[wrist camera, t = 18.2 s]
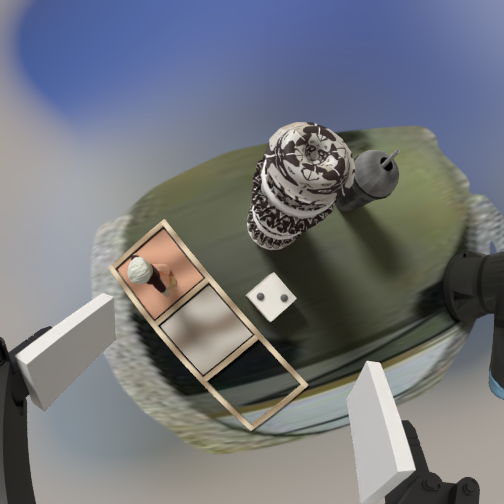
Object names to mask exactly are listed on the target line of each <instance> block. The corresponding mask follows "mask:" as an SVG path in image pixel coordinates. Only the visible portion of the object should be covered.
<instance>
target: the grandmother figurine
mask: <svg viewBox="0 0 504 504" xmlns="http://www.w3.org/2000/svg"><path fill="white" fill-rule="evenodd" d="M127 274H128V278H129V279H130V281H131V282H132V283H137V284H144V283H147V284H149V285H153V286H154V287H155V288H156V289H157V290H158V291H159V292H160V293H162V294H163V295H164V296H166V297H168V296H169V295H170V291H169V289H171V288H174V287H175V286H176V284H177V280H176V278H175V277H174V276H169V274H170V268H169V267H168V266H167V265H166V264H150V263H149V262H148V261H145V259H144V258H142V257H139V255H138V254H134V255H133V256H131V262H130V264H129V265H128V272H127Z"/></svg>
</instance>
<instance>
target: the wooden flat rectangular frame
mask: <svg viewBox="0 0 504 504" xmlns="http://www.w3.org/2000/svg"><path fill="white" fill-rule="evenodd" d="M163 227H165V228H166V230H167V231H168V232H169V233H170V235H171V236H172V237H173V238H174V240H175V241H176V242H177V244H178V245H179V246H180V247H181V249H182V250H183V251H184V252H185V253H186V255H187V256H188V257H189V258H190V260H191V261H192V262H193V263H194V265H195V266H196V267H197V268H198V269H199V271H200V272H201V273H202V274H203V275H204V277H205V279H204V280H203V281H202V282H200V283H199V284H198V285H197V286H196V287H195V288H193V289H192V290H191V291H190V292H189V293H188V294H186V295H185V296H184V297H183V298H182V299H180V300H179V301H178V302H177V303H176V304H175V305H173V306H172V307H171V308H170V309H169V310H168V311H166V312H165V313H164V314H163V315H162V316H161V317H159V318H158V319H157V320H156V321H154V320H153V318H152V317H151V316H150V315H149V313H148V312H147V311H146V309H145V308H144V307H143V306H142V304H141V303H140V302H139V300H138V299H137V298H136V296H135V295H134V294H133V292H132V291H131V290H130V288H129V287H128V285H127V284H126V283H125V281H124V280H123V278H124V279H125V280H126V282H127V283H128V284H129V286H130V287H131V289H132V290H133V291H134V293H135V294H136V295H137V297H138V298H139V299H140V301H141V302H142V303H143V305H144V306H145V307H146V308H147V310H148V311H149V312H150V314H151V315H152V316H153V317H154V319H156V318H157V317H158V316H159V315H161V314H162V313H163V312H164V311H165V310H166V309H168V308H169V307H170V306H171V305H172V304H173V303H175V302H176V301H177V300H178V299H179V298H180V297H182V296H183V295H184V294H185V293H186V292H188V291H189V290H190V289H191V288H192V287H193V286H195V285H196V284H197V283H198V282H199V281H200V280H202V279H203V277H202V276H201V275H200V273H199V272H198V271H197V270H196V268H195V267H194V266H193V265H192V264H191V262H190V261H189V260H188V259H187V257H186V256H185V255H184V254H183V252H182V251H181V250H180V249H179V248H178V246H177V245H176V244H175V242H174V241H173V240H172V239H171V237H170V236H169V235H168V234H167V232H166V231H165V230H164V229H163V230H161V229H162V228H163ZM159 230H161V231H160V232H159V233H158V234H157V235H156V236H154V235H155V234H156V233H157V232H158V231H159ZM152 236H154V237H153V238H152V239H151V240H150V241H149V242H148V243H146V242H147V241H148V240H149V239H150V238H151V237H152ZM144 243H146V244H145V245H144V246H143V247H142V248H141V249H140V250H138V249H139V248H140V247H141V246H142V245H143V244H144ZM136 250H138V251H137V252H136V253H135V254H138V255H139V257H142V258H144V259H145V261H148V262H149V263H150V264H166V265H167V266H168V267H169V268H170V274H169V276H174V277H175V278H176V280H177V284H176V286H175V287H174V288H171V289H169V291H170V295H169V296H168V297H166V296H164V295H163V294H162V293H160V292H159V291H158V290H157V289H156V288H155V287H154V286H153V285H149V284H147V283H144V284H137V283H132V282H131V281H130V279H129V278H128V274H127V272H128V265H129V264H130V262H131V258H129V257H130V256H131V255H132V254H133V253H134V252H135V251H136ZM127 258H129V259H128V260H127V261H126V262H125V263H124V264H123V265H122V266H121V267H120V268H118V267H119V266H120V265H121V264H122V263H123V262H124V261H125V260H126V259H127ZM117 268H118V270H119V272H120V273H121V275H122V276H123V278H122V277H121V276H120V274H119V273H118V271H117V270H116V269H117ZM109 269H110V271H111V272H112V274H113V275H114V277H115V278H116V279H117V281H118V282H119V284H120V285H121V286H122V288H123V289H124V291H125V292H126V293H127V295H128V296H129V297H130V299H131V300H132V302H133V303H134V304H135V306H136V307H137V308H138V309H139V311H140V312H141V313H142V315H143V316H144V317H145V319H146V320H147V321H148V322H149V324H150V325H151V326H152V327H153V329H154V330H155V331H156V332H157V333H158V335H159V336H160V337H161V338H162V339H163V341H164V342H165V343H166V344H167V345H168V347H169V348H170V349H171V350H172V351H173V352H174V354H175V355H176V356H177V357H178V358H179V359H180V360H181V362H182V363H183V364H184V365H185V366H186V367H187V368H188V369H189V370H190V371H191V373H192V374H193V375H194V376H195V377H196V378H197V379H198V380H199V381H200V382H201V383H202V384H203V385H204V386H205V387H206V388H207V389H208V390H209V391H210V392H211V393H212V394H213V395H214V396H215V397H216V398H217V399H218V400H219V401H220V402H221V403H222V404H223V405H224V406H225V407H226V408H227V409H228V410H229V411H230V412H231V413H232V414H233V415H234V416H235V417H236V418H237V419H238V420H239V421H241V422H242V423H243V424H244V425H245V426H246V427H247V428H248V429H249V430H251V431H252V430H253V429H254V428H256V427H257V426H258V425H260V424H261V423H262V422H264V421H265V420H266V419H268V418H269V417H270V416H272V415H273V414H274V413H276V412H277V411H278V410H279V409H281V408H282V407H283V406H284V405H286V404H287V403H288V402H289V401H291V400H292V399H293V398H294V397H295V396H297V395H298V394H299V393H300V392H301V391H303V390H304V389H305V388H306V387H307V386H308V384H307V383H306V382H305V381H304V380H303V379H302V378H301V377H300V376H299V375H298V373H297V372H296V371H295V370H294V369H293V368H292V367H291V366H290V365H289V364H288V363H287V362H286V361H285V360H284V359H283V357H282V356H281V355H280V354H279V353H278V352H277V351H276V350H275V349H274V348H273V347H272V345H271V344H270V343H269V342H268V341H267V340H266V339H265V338H264V337H263V336H262V334H261V333H260V332H259V331H258V330H257V329H256V328H255V327H254V325H253V324H252V323H251V322H250V321H249V320H248V319H247V318H246V316H245V315H244V314H243V313H242V312H241V311H240V310H239V308H238V307H237V306H236V305H235V304H234V303H233V302H232V300H231V299H230V298H229V297H228V296H227V295H226V293H225V292H224V291H223V290H222V289H221V288H220V286H219V285H218V284H217V283H216V282H215V280H214V279H213V278H212V277H211V276H210V274H209V273H208V272H207V271H206V270H205V269H204V267H203V266H202V265H201V264H200V262H199V261H198V260H197V259H196V258H195V256H194V255H193V254H192V253H191V252H190V250H189V249H188V248H187V247H186V245H185V244H184V243H183V242H182V240H181V239H180V238H179V237H178V235H177V234H176V233H175V232H174V230H173V229H172V228H171V227H170V225H169V224H168V223H167V222H166V220H165V219H164V220H162V221H161V222H160V223H159V224H158V225H156V226H155V227H154V228H153V229H152V230H151V231H149V232H148V233H147V234H146V235H145V236H144V237H143V238H141V239H140V240H139V241H138V242H137V243H136V244H135V245H133V246H132V247H131V248H130V249H129V250H128V251H127V252H126V253H125V254H123V255H122V256H121V257H120V258H119V259H118V260H117V261H116V262H115V263H114V264H113V265H111V266H110V267H109ZM208 283H210V284H211V285H212V286H213V287H214V288H215V290H216V291H217V292H218V293H219V294H220V296H221V297H222V298H223V299H224V300H225V301H226V303H227V304H228V305H229V306H230V307H231V308H232V309H233V311H234V312H235V313H236V314H237V315H238V316H239V317H240V319H241V320H242V321H243V322H244V323H245V324H246V325H247V327H248V328H249V329H250V330H251V331H252V332H253V333H254V334H255V335H254V336H253V337H252V338H251V339H249V340H248V341H247V342H246V343H245V344H243V345H242V346H241V347H240V348H239V349H237V350H236V351H235V352H234V353H233V354H231V355H230V356H229V357H228V358H226V359H225V360H224V361H223V362H221V363H220V364H219V365H218V366H216V367H215V368H214V369H213V370H211V371H210V372H209V373H208V374H206V375H205V376H204V377H203V376H202V375H201V374H200V373H199V372H198V371H197V370H196V369H195V368H194V366H193V365H192V364H191V363H190V362H189V361H188V360H187V359H186V358H185V356H184V355H183V354H182V353H181V352H180V351H179V350H178V348H177V347H176V346H175V345H174V344H173V343H172V341H171V340H170V339H169V338H168V337H167V336H166V334H165V333H164V332H163V331H162V329H161V328H160V327H159V326H158V325H159V324H161V323H162V322H163V321H164V320H165V319H166V318H168V317H169V316H170V315H171V314H172V313H174V312H175V311H176V310H177V309H178V308H179V307H181V306H182V305H183V304H184V303H185V302H186V301H188V300H189V299H190V298H191V297H192V296H194V295H195V294H196V293H197V292H198V291H199V290H201V289H202V288H203V287H204V286H205V285H207V284H208ZM161 327H162V328H163V330H164V331H165V332H166V333H167V335H168V336H169V337H170V338H171V339H172V340H173V342H174V343H175V344H176V345H177V346H178V347H179V349H180V350H181V351H182V352H183V353H184V354H185V355H186V357H187V358H188V359H189V360H190V361H191V362H192V363H193V364H194V365H195V367H196V368H197V369H198V370H199V371H200V372H201V373H202V374H203V375H204V374H205V373H206V372H208V371H209V370H210V369H211V368H213V367H214V366H215V365H216V364H218V363H219V362H220V361H221V360H223V359H224V358H225V357H226V356H227V355H229V354H230V353H231V352H232V351H234V350H235V349H236V348H237V347H238V346H240V345H241V344H242V343H243V342H244V341H246V340H247V339H248V338H249V337H250V336H251V335H252V334H251V333H250V331H249V330H248V329H247V328H246V327H245V326H244V325H243V324H242V322H241V321H240V320H239V319H238V318H237V317H236V316H235V314H234V313H233V312H232V311H231V310H230V309H229V308H228V306H227V305H226V304H225V303H224V302H223V301H222V299H221V298H220V297H219V296H218V295H217V294H216V292H215V291H214V290H213V289H212V288H211V286H210V285H208V286H207V287H206V288H205V289H203V290H202V291H201V292H200V293H199V294H198V295H196V296H195V297H194V298H193V299H192V300H190V301H189V302H188V303H187V304H186V305H185V306H183V307H182V308H181V309H180V310H179V311H177V312H176V313H175V314H174V315H173V316H172V317H170V318H169V319H168V320H167V321H166V322H165V323H163V324H162V325H161ZM258 339H259V340H260V341H261V342H262V343H263V344H264V345H265V346H266V348H267V349H268V350H269V351H270V352H271V353H272V354H273V355H274V356H275V357H276V358H277V359H278V361H279V362H280V363H281V364H282V365H283V366H284V367H285V368H286V369H287V370H288V371H289V372H290V373H291V374H292V375H293V376H294V378H295V379H296V380H297V381H298V382H299V383H300V384H301V385H300V386H299V387H298V388H296V389H295V390H294V391H293V392H292V393H290V394H289V395H288V396H287V397H286V398H284V399H283V400H282V401H281V402H279V403H278V404H277V405H276V406H274V407H273V408H272V409H270V410H269V411H268V412H267V413H265V414H264V415H263V416H261V417H260V418H259V419H257V420H256V421H255V422H253V423H252V424H251V423H250V422H248V421H247V420H246V419H245V418H244V417H243V416H242V415H241V414H240V413H239V412H238V411H237V410H236V409H235V408H234V407H233V406H231V405H230V404H229V403H228V402H227V401H226V400H225V399H224V398H223V397H222V396H221V395H220V394H219V393H218V392H217V391H216V390H215V389H214V388H213V387H212V386H211V385H210V383H209V382H208V380H209V379H210V378H212V377H213V376H214V375H215V374H217V373H218V372H219V371H220V370H222V369H223V368H224V367H225V366H227V365H228V364H229V363H230V362H232V361H233V360H234V359H235V358H236V357H238V356H239V355H240V354H241V353H243V352H244V351H245V350H246V349H247V348H249V347H250V346H251V345H252V344H253V343H254V342H256V341H257V340H258Z"/></svg>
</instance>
